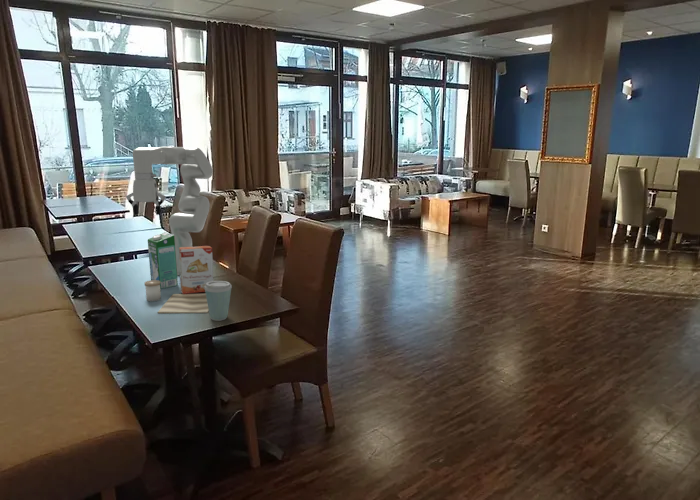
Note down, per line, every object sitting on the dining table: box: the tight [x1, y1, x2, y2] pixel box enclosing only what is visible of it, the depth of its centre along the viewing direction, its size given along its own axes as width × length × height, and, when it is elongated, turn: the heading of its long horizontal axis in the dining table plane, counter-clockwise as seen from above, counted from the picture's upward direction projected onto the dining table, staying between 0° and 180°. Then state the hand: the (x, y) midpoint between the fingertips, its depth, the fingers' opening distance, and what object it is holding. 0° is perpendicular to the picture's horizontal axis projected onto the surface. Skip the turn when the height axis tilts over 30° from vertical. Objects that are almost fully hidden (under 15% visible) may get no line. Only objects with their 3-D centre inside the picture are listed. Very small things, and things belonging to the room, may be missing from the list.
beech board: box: [157, 293, 209, 314], centre depth 213 cm, size 23×20×1 cm
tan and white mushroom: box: [144, 279, 162, 302], centre depth 217 cm, size 7×7×8 cm
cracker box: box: [179, 245, 214, 294], centre depth 226 cm, size 14×6×21 cm, turn 118°
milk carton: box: [147, 232, 179, 290], centre depth 234 cm, size 9×9×25 cm
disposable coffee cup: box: [204, 280, 233, 322], centre depth 195 cm, size 11×11×15 cm
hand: (147, 214), depth 224 cm, fingers open, 9 cm apart
